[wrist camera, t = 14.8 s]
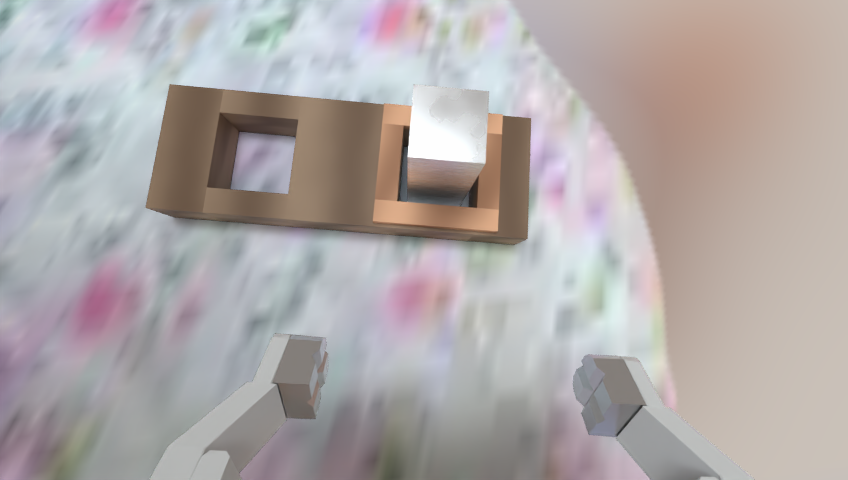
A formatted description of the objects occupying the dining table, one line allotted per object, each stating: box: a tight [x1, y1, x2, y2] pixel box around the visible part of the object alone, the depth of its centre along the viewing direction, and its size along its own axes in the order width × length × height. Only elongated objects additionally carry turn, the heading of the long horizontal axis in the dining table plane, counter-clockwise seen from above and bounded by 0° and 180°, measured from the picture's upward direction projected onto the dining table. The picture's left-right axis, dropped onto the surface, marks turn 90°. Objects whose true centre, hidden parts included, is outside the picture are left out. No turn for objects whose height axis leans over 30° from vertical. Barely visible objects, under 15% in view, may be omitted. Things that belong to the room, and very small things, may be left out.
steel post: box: [407, 84, 489, 206], centre depth 24 cm, size 4×4×10 cm
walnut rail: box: [146, 84, 531, 245], centre depth 27 cm, size 26×9×4 cm, turn 86°
